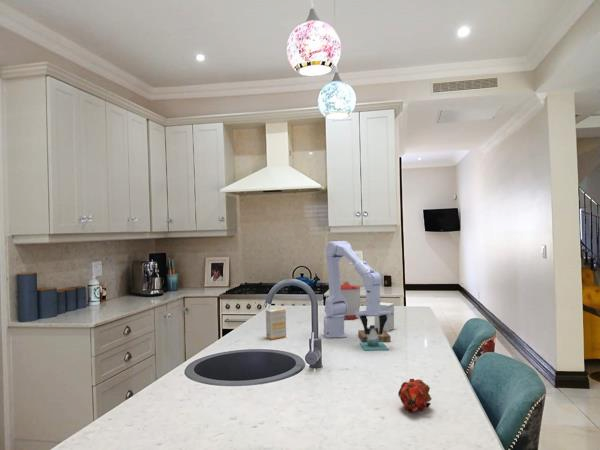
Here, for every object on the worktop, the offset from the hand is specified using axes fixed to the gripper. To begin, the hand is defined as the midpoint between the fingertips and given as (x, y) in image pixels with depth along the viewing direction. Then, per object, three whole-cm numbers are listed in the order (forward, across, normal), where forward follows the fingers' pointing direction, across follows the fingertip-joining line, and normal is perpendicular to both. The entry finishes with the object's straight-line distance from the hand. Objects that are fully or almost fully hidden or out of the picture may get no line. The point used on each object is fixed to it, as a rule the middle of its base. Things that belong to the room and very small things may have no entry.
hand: (373, 333), depth 180 cm
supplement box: (+6, -41, +19) cm, 46 cm away
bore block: (+6, +3, +13) cm, 14 cm away
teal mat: (+6, 0, 0) cm, 6 cm away
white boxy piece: (+6, +12, +30) cm, 33 cm away
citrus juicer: (+6, -3, +59) cm, 59 cm away
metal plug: (+5, 0, 0) cm, 5 cm away
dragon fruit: (+6, -2, -61) cm, 61 cm away
